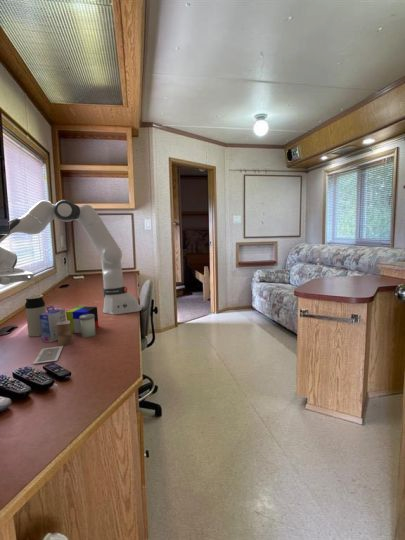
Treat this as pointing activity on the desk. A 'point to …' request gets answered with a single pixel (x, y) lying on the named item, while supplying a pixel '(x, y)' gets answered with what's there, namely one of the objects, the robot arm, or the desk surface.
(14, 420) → the desk surface
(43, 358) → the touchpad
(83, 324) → the sage canister
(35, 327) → the travel mug
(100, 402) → the desk surface
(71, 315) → the puzzle toy
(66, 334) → the brown cylindrical container
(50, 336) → the ink cartridge box
